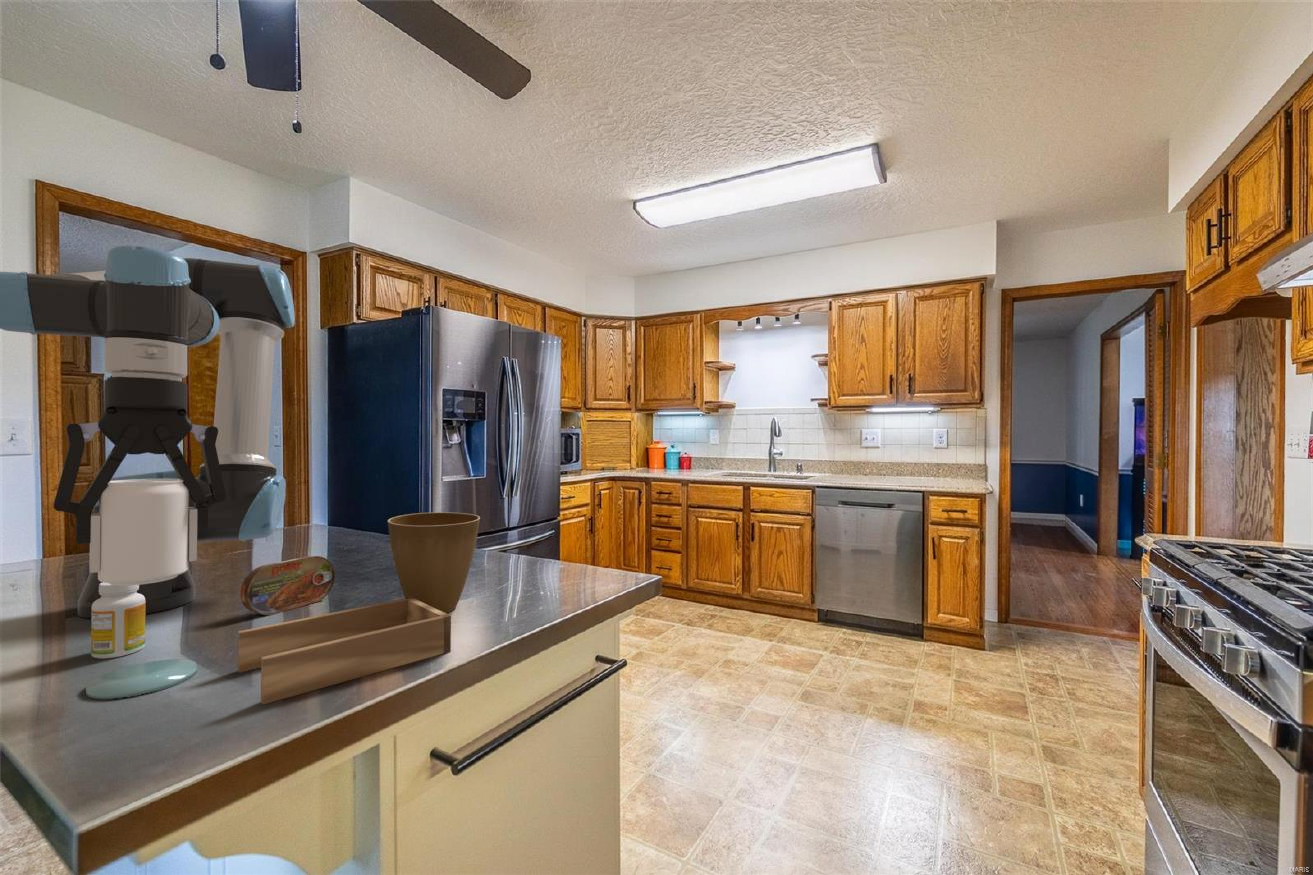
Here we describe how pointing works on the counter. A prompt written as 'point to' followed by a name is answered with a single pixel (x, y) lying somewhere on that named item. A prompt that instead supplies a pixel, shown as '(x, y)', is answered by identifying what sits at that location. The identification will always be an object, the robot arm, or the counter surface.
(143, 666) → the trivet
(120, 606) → the supplement bottle
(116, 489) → the beverage can
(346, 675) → the brown wooden rectangular tray
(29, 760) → the counter surface
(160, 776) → the counter surface
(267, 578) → the tin
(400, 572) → the plant pot
